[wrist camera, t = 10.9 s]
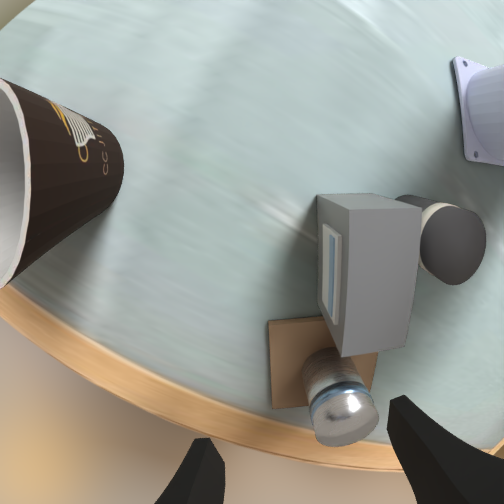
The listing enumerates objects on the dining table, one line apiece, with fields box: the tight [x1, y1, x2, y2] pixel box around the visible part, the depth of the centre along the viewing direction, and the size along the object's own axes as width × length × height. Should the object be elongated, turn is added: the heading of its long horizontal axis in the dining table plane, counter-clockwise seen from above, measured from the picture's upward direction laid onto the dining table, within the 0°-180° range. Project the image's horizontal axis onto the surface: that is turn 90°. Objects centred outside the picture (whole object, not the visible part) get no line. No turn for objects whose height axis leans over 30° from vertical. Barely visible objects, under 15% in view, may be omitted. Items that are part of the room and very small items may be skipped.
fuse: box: [301, 347, 379, 447], centre depth 17 cm, size 4×4×6 cm
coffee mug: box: [0, 78, 124, 289], centre depth 11 cm, size 12×9×10 cm
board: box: [268, 316, 378, 409], centre depth 20 cm, size 8×8×1 cm
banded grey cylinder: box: [395, 195, 486, 285], centre depth 14 cm, size 4×4×6 cm
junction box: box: [317, 193, 422, 357], centre depth 15 cm, size 4×7×6 cm, turn 4°
